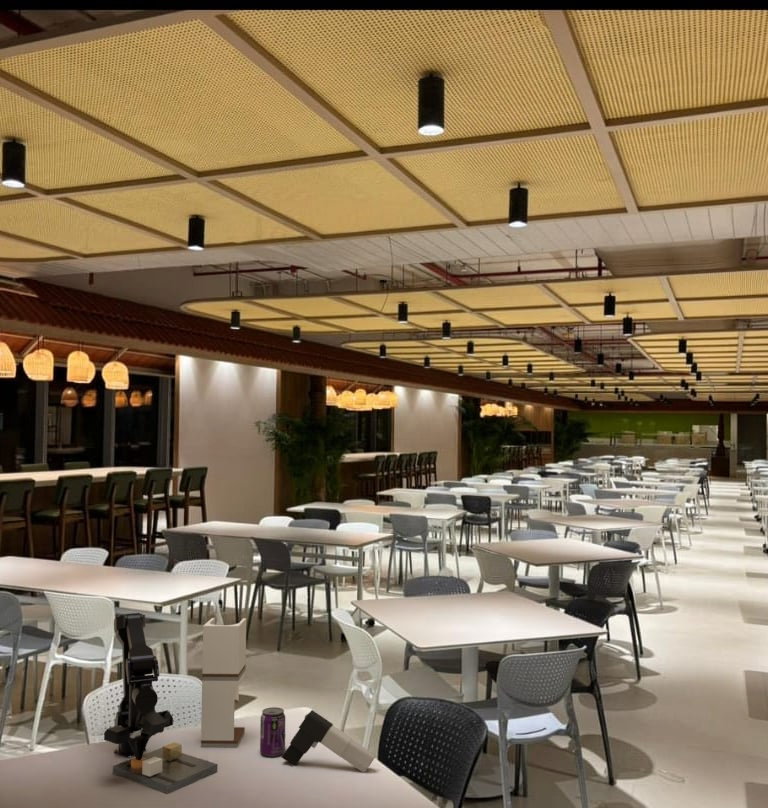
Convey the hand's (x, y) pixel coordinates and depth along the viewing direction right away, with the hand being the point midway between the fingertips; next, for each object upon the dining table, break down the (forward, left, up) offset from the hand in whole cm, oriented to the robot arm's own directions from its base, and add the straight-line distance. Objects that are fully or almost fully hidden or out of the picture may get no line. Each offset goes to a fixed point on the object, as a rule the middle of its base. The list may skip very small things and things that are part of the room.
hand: (138, 759), depth 213 cm
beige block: (+8, -2, -1) cm, 8 cm away
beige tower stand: (+1, +30, -4) cm, 30 cm away
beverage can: (+20, +31, -4) cm, 37 cm away
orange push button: (0, 0, -3) cm, 3 cm away
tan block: (+4, +8, -1) cm, 9 cm away
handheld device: (+39, +32, -4) cm, 51 cm away
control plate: (+6, +4, -3) cm, 8 cm away
